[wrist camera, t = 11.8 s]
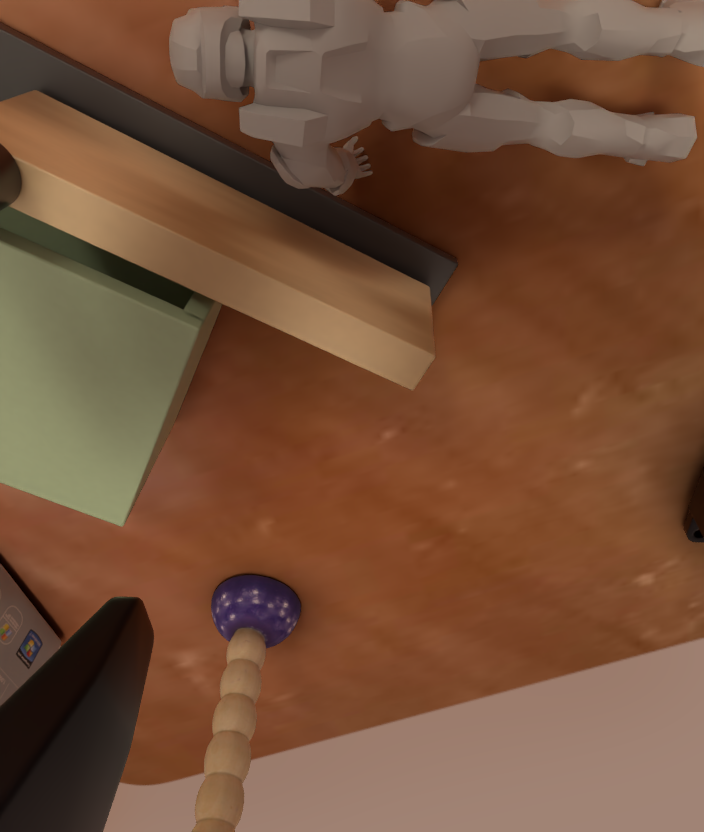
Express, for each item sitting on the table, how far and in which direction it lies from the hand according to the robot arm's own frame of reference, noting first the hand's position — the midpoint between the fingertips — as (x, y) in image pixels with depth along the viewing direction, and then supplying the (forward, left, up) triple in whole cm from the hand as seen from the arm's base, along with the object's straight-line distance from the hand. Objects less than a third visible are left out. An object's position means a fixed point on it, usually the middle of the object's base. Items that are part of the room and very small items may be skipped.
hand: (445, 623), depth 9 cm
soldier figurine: (-1, -6, -13) cm, 14 cm away
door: (+5, -2, -13) cm, 14 cm away
